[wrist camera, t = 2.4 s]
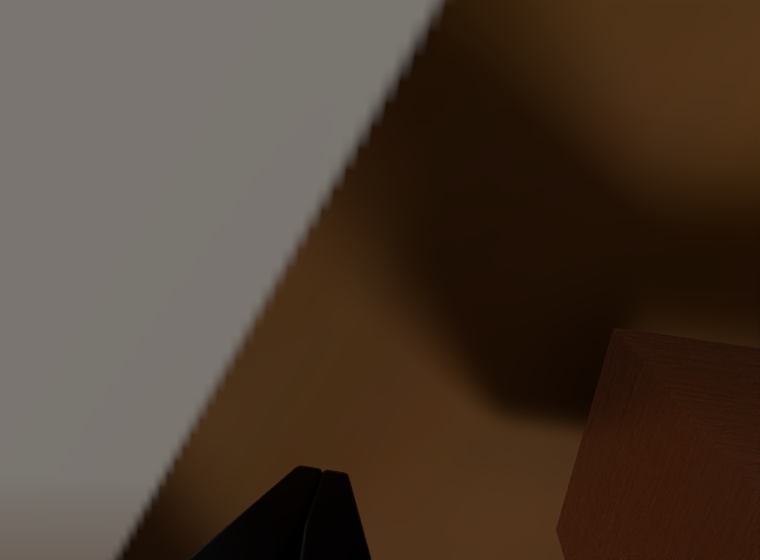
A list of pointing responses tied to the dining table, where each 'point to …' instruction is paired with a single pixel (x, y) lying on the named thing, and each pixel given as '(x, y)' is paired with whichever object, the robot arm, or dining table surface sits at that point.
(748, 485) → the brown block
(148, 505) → the dining table surface
